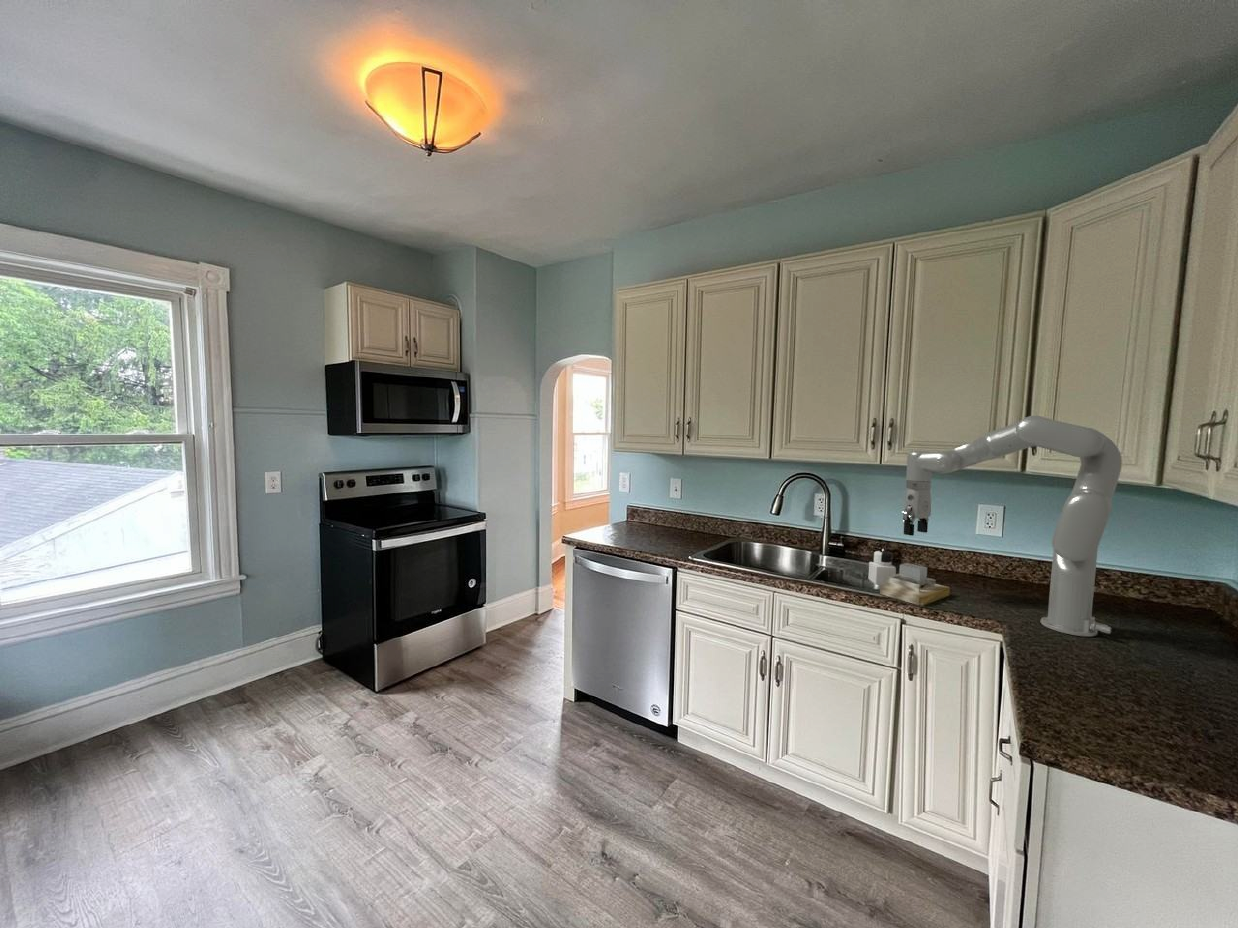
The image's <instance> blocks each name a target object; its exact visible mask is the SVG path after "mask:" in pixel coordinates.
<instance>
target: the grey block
mask: <svg viewBox="0 0 1238 928" xmlns="http://www.w3.org/2000/svg"><path fill="white" fill-rule="evenodd" d="M898 574H899V580H903V581H907V582H911V583H915V584H919V585H920V587H924V586H926V579H927V578H928V577H927V576H928V567H926V566H922V565H919V564H918V565H917V564H915V563H914V564H913V563H910V562H904V563H901V564H899V573H898Z"/></svg>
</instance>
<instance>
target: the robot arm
mask: <svg viewBox="0 0 1238 928" xmlns="http://www.w3.org/2000/svg"><path fill="white" fill-rule="evenodd" d="M1034 446H1035V447H1039V448H1041V449H1045V450H1049V451H1053V452H1057V453H1061V454H1065V455H1068V456H1071V457H1075V458H1076V457H1077V458H1079V460H1080V467H1079V470H1078V473H1077V475H1076V476H1077V477H1076V480H1075V482H1074V485H1073V488H1072V491H1071V493H1070V494H1069V496H1068V497H1067V498H1066V500H1065V502H1064V505H1063V507H1062V510H1061V513H1060V517H1059V519H1058V521H1057V525H1056V528H1055V531H1054V533H1053V536H1052V539H1051V545H1052V548H1053V552H1052V562H1051V574H1050V584H1049V585H1050V586H1049V597H1048V608H1047V609H1048V610H1047V616H1043V617H1041V618H1040V623H1041V625H1043V626H1044V627H1046V628H1047V629H1051V630H1053V631H1055V632H1060V633H1062V634H1067V635H1072V636H1078V637H1095V636H1097V635H1098V631H1099V632H1101V633H1105V634H1108V635H1110V634H1111V633H1112V627H1111V626H1109V625H1108V624H1105V623H1100V622H1097V621H1095V620H1096V618H1095V616H1093V615H1092V613H1093V603H1094V601H1093V600H1094V592H1095V591H1094V590H1095V581H1096V571H1097V569H1096V568H1097V558H1098V551H1099V545H1100V543H1101V540H1102V538H1103V534H1104V532H1105V529H1106V527H1107V524H1108V521H1109V519H1110V515H1111V511H1112V500H1113V496H1114V494H1115V492H1116V489H1117V485H1118V481H1119V479H1120V475H1121V471H1122V466H1123V462H1122V460H1123V459H1122V455H1121V452H1120V450H1119V448H1118V446H1117V445H1116V443H1115V442H1114V441H1113V440H1111V439H1110V437H1108V436H1107V435H1105V434H1104V433H1102V432H1101V431H1099V430H1097V429H1096V428H1093V427H1092V428H1091V427H1086V426H1082V425H1077V424H1072V423H1068V422H1065V421H1059V420H1057V419H1051V418H1047V417H1044V416H1041V415H1028V416H1026V417H1024V418H1022V419H1021V420H1019V421H1016V422H1014V423H1011V424H1008V425H1005V426H1003V427H1000V428H997V429H994V430H992V431H989V432H986V433H984V434H982V435H981V436H979V437H978V438H976V439H974V440H973V441H970V442H968V443H965V444H963V445H960V446H958V447H953V448H952V449H947V450H943V451H931V452H930V451H928V450H911V451H909V452H908V453H907V456H906V457H907V459H906V460H907V461H906V476H905V477H906V478H905V479H906V480H905V490H906V492H905V499H904V509H903V511H902V516H903V517H902V520H903V535H906V536H910V537H911V536H912V537H913V536H914V535H915V524H914V523H915V520H916V519H917V527H916V531H917V532H919V533H923V534H925V533H926V534H927V533H928V526H929V525H928V524H929V517H930V516H931V515H932V496H931V485H932V473H935V474H948V473H953V472H956V471H959V470H962V469H965V468H968V467H972V466H973V465H977V464H980V463H983V462H986V461H991V460H992V461H993V460H995V459H1000V458H1001V457H1004V456H1008V455H1010V454H1014V453H1017V452H1019V451H1022V450H1025V449H1028V448H1032V447H1034Z"/></svg>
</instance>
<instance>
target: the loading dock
mask: <svg viewBox="0 0 1238 928" xmlns="http://www.w3.org/2000/svg"><path fill="white" fill-rule="evenodd" d="M950 589H951V588H950V586H948V585H947V586H946V585H942V584H938V583H936V579H934V578H929V577H927V579H926V586H924V587H920V585H919V584H915V583H911V582H907V581H903V580H899V573H896V575H893V576H889V577H887V583H886V584H885V585H880V589H879V595H883V596H886V597H889V598H892V599H895V600H899V601H903V602H906V603H910V604H914V605H918V606H920V607H923V606H926V605H928V604H930V603H931V604H932V603H933V602H936V601H939V600H942V599H944V598H946V597H950V591H951V590H950Z"/></svg>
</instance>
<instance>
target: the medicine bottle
mask: <svg viewBox="0 0 1238 928" xmlns="http://www.w3.org/2000/svg"><path fill="white" fill-rule="evenodd" d="M892 559H893V554H892V553H891V552H889V551H884V550H876V551H874V552H873V561H869V562H868V563H869V564H868V580H869V581H870V582H872V583H873V584H874V585H876V586H881V585H885V584H886V583H887V577H889V576H893V575H896V574H897V572H896V571H897V568H896V566H895V565H893V564H892V563H893V562H892Z"/></svg>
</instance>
